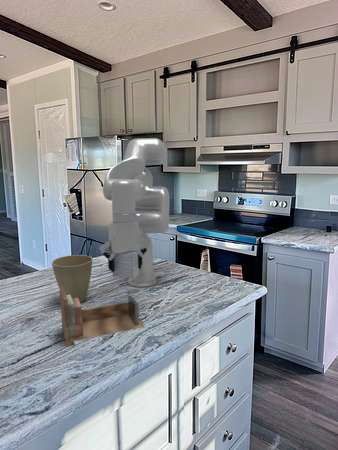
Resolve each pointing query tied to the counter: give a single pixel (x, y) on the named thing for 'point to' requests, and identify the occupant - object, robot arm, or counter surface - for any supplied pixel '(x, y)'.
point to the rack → (93, 319)
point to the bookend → (133, 310)
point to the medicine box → (126, 265)
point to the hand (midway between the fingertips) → (125, 269)
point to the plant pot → (73, 274)
